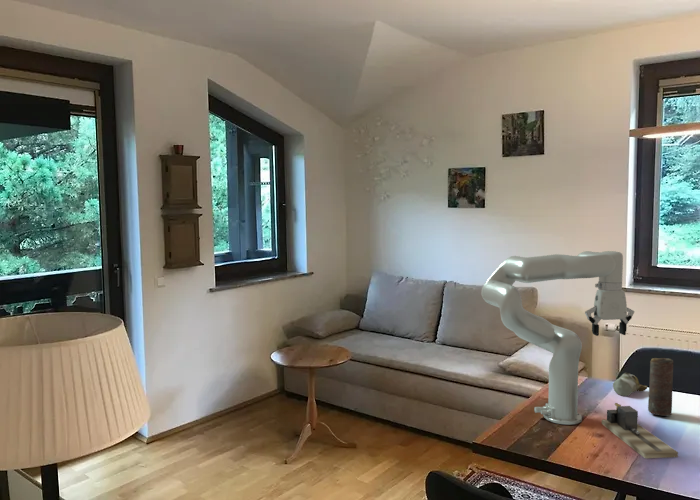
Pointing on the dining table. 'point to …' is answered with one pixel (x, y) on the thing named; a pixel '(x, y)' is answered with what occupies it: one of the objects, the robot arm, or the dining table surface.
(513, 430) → the dining table surface
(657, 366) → the candle
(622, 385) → the ceramic sculpture
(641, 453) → the rail board
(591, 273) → the robot arm
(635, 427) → the dark grey block
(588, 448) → the dining table surface
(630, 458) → the dining table surface
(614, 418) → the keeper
